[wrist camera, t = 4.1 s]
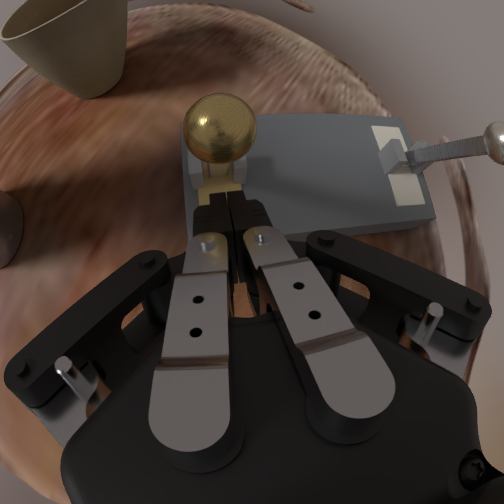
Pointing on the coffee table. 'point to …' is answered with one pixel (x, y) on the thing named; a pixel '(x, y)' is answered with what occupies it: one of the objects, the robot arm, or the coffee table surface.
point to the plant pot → (71, 42)
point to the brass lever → (219, 131)
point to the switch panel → (322, 175)
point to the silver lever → (463, 148)
